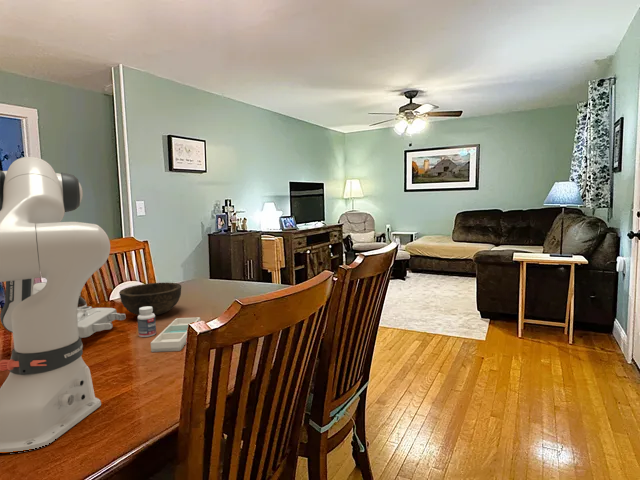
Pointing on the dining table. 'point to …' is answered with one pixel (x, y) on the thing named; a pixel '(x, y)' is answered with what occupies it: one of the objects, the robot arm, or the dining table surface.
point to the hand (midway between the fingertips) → (118, 321)
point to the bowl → (151, 297)
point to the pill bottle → (146, 322)
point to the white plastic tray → (173, 336)
